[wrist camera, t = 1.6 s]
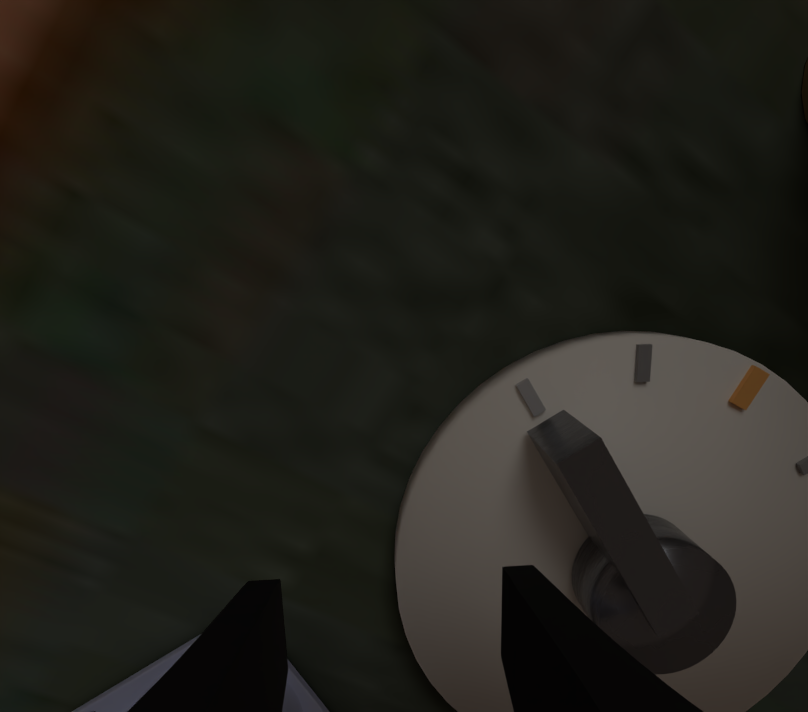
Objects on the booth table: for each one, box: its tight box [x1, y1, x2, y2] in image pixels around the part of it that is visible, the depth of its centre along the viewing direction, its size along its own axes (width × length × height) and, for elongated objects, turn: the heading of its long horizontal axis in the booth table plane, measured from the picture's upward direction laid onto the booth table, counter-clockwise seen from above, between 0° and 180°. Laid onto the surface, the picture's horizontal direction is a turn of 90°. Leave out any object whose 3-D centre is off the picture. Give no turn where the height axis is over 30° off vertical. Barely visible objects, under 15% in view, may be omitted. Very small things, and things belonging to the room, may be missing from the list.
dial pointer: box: [527, 410, 736, 674], centre depth 17 cm, size 10×5×3 cm, turn 32°
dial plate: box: [394, 331, 808, 712], centre depth 20 cm, size 19×19×2 cm
